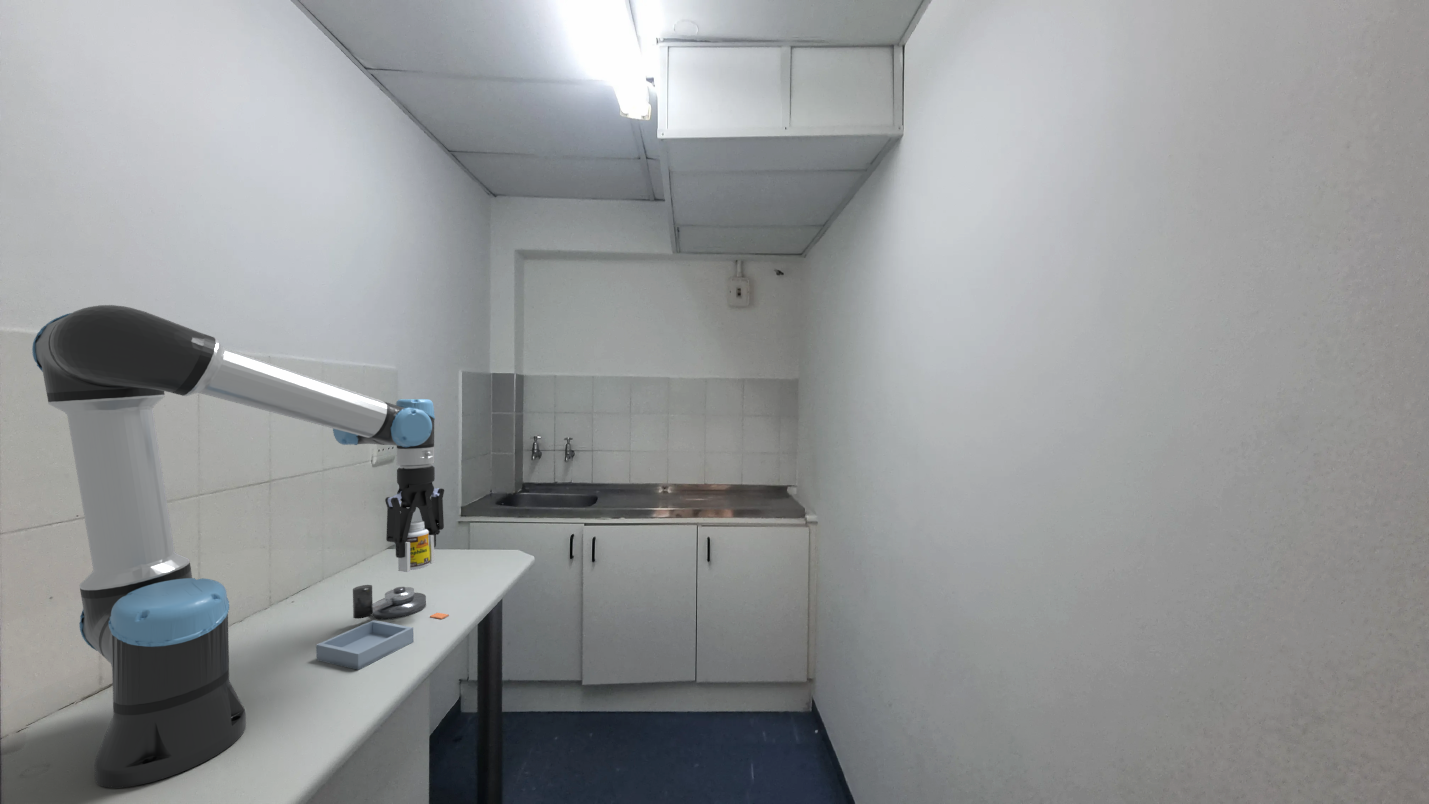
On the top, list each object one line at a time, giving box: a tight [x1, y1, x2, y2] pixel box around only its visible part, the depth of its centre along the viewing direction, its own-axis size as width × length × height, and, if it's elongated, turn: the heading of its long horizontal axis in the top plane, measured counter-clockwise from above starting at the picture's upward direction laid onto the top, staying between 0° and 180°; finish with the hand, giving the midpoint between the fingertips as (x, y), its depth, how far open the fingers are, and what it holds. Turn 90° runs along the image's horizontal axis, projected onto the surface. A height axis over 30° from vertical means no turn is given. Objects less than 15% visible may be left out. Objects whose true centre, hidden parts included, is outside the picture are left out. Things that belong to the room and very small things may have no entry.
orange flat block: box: [429, 612, 450, 620], centre depth 120 cm, size 2×4×1 cm, turn 70°
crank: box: [352, 584, 415, 620], centre depth 120 cm, size 14×6×6 cm, turn 160°
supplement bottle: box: [406, 520, 431, 571], centre depth 118 cm, size 6×6×10 cm
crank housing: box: [372, 592, 427, 621], centre depth 124 cm, size 11×11×2 cm
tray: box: [315, 619, 414, 671], centre depth 104 cm, size 12×12×3 cm
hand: (416, 566), depth 118 cm, fingers closed on supplement bottle, 6 cm apart
